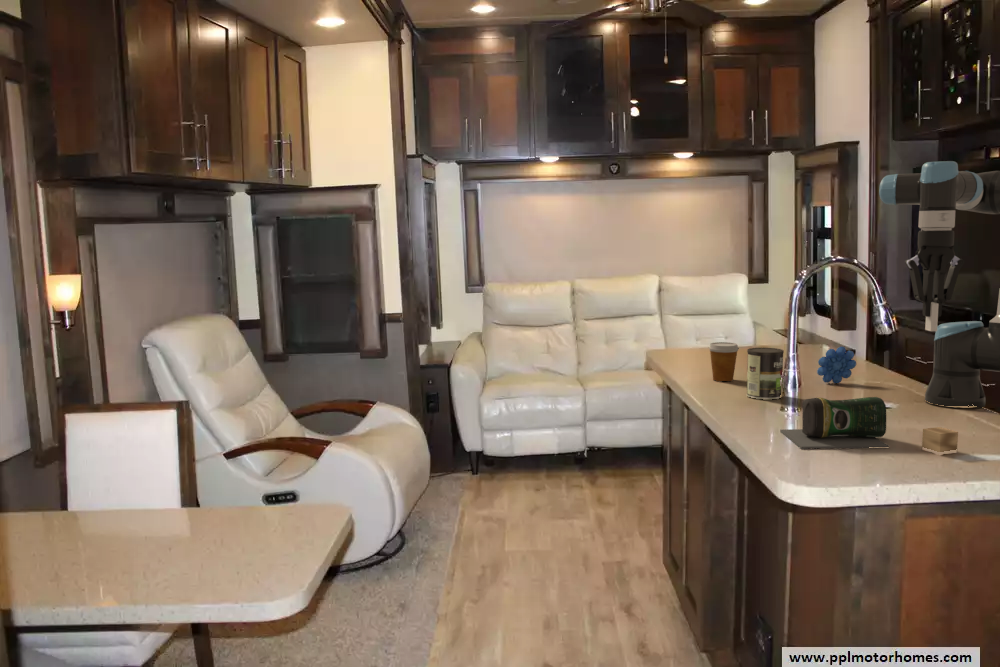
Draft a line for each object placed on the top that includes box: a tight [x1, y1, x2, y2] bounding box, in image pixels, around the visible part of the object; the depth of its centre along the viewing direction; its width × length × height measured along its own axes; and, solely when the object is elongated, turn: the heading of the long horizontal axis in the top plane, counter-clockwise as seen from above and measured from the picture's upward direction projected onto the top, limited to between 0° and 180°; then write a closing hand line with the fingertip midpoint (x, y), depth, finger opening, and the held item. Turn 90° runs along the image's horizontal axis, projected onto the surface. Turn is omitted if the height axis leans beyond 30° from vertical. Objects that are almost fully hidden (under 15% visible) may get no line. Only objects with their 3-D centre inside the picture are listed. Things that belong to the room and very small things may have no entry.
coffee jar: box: [802, 396, 887, 438], centre depth 205 cm, size 10×8×19 cm
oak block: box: [921, 426, 959, 452], centre depth 193 cm, size 5×5×5 cm
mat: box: [780, 428, 890, 450], centre depth 205 cm, size 20×16×1 cm
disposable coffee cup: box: [708, 341, 739, 382], centre depth 280 cm, size 10×10×12 cm
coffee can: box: [746, 347, 784, 401], centre depth 254 cm, size 10×10×14 cm
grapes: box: [816, 346, 857, 384], centre depth 272 cm, size 12×7×12 cm, turn 78°
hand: (931, 330), depth 201 cm, fingers closed
